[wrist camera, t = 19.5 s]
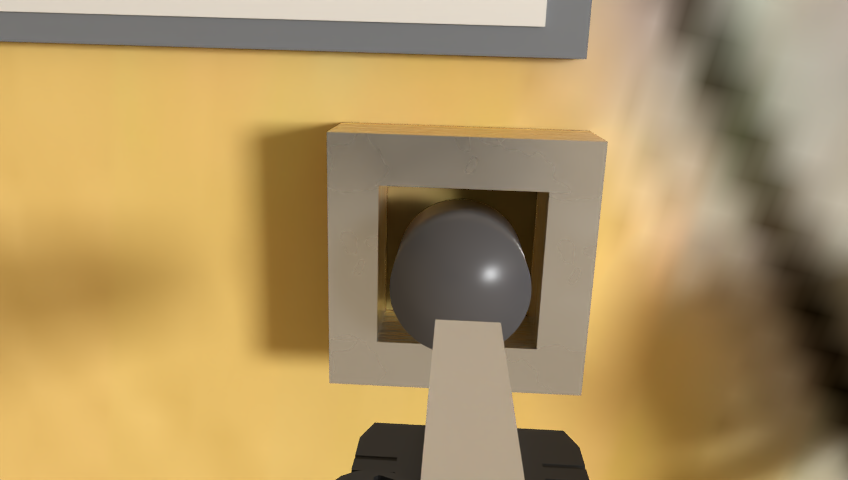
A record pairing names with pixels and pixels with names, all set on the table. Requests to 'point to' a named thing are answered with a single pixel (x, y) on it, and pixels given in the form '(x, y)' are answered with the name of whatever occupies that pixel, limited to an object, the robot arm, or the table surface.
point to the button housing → (462, 169)
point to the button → (459, 270)
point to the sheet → (312, 25)
